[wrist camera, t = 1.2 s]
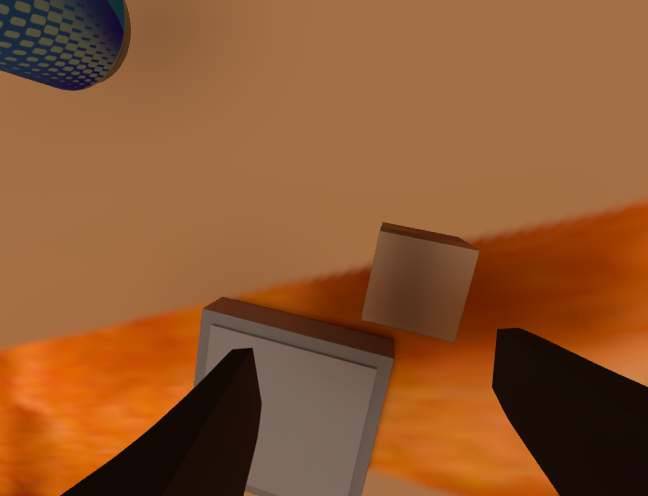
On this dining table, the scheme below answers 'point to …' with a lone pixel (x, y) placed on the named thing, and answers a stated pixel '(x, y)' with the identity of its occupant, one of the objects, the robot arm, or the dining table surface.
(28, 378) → the dining table surface
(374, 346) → the tray
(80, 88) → the beer can
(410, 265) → the block
